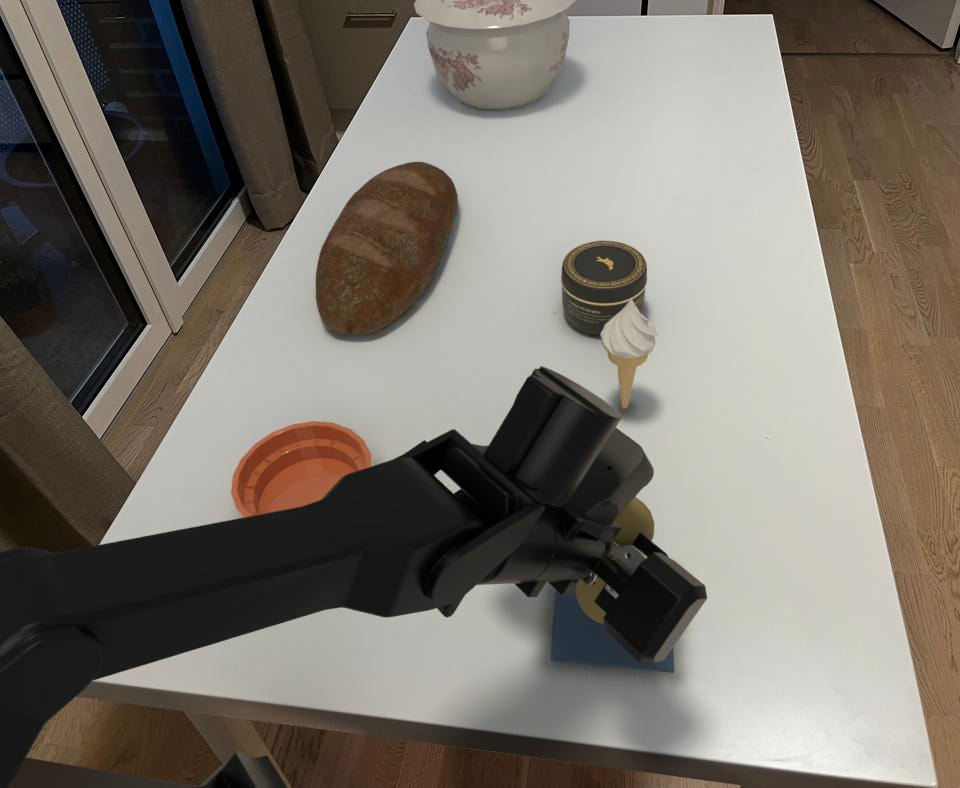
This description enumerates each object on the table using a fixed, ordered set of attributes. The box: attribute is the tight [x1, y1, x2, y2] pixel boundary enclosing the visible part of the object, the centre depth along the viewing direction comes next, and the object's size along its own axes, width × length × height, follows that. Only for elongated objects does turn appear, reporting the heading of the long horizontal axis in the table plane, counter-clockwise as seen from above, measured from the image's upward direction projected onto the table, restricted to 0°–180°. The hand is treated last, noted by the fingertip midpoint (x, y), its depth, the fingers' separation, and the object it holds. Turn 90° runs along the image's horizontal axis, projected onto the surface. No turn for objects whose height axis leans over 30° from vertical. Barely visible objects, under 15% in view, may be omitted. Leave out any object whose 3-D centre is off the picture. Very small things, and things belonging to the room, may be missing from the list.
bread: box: [315, 161, 459, 336], centre depth 107 cm, size 16×36×8 cm, turn 168°
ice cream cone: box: [600, 299, 659, 410], centre depth 81 cm, size 6×6×15 cm
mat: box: [550, 584, 675, 673], centre depth 68 cm, size 10×9×1 cm
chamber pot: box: [413, 0, 577, 110], centre depth 137 cm, size 28×28×21 cm
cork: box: [576, 496, 655, 624], centre depth 62 cm, size 6×6×11 cm
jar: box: [560, 240, 648, 337], centre depth 95 cm, size 10×10×8 cm
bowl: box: [230, 420, 375, 518], centre depth 79 cm, size 14×14×4 cm
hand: (628, 541), depth 62 cm, fingers closed on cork, 5 cm apart
